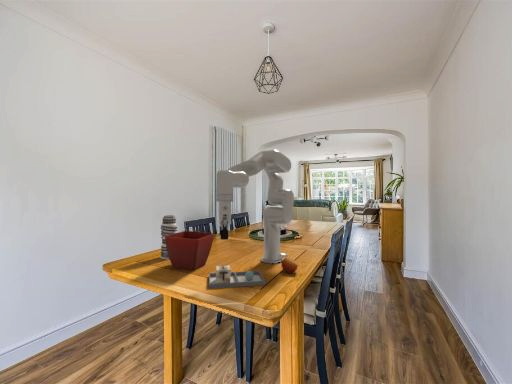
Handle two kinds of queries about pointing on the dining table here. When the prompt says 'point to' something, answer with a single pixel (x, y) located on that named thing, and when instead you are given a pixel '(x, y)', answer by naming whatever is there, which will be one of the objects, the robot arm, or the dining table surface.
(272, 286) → the dining table surface
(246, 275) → the teal ball
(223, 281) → the letter cube
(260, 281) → the compartment box
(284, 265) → the fruit
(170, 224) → the decorative candle
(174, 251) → the plant pot
